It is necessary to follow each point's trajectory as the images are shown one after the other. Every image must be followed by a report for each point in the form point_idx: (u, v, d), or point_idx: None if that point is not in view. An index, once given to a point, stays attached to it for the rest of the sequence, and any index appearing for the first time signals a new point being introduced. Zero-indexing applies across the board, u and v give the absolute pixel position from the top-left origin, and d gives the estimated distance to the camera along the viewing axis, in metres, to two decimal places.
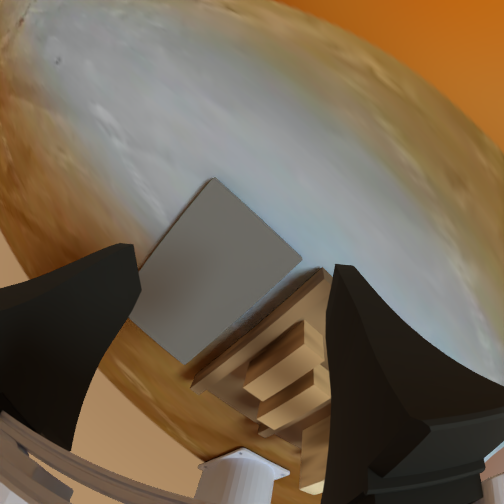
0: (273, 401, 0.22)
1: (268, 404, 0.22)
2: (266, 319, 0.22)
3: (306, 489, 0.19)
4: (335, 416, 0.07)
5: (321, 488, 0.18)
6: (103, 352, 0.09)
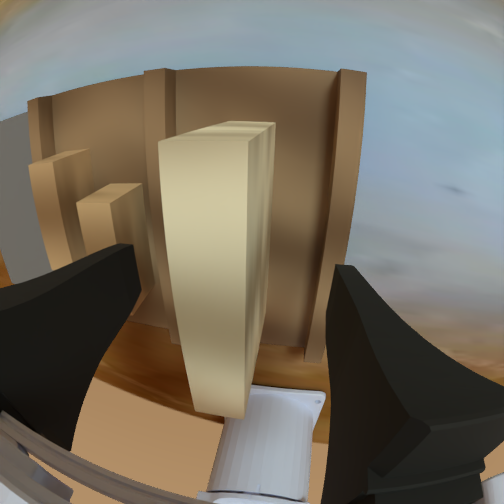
0: None
1: None
2: None
3: (205, 408, 0.11)
4: (335, 416, 0.07)
5: (223, 398, 0.10)
6: (103, 352, 0.09)
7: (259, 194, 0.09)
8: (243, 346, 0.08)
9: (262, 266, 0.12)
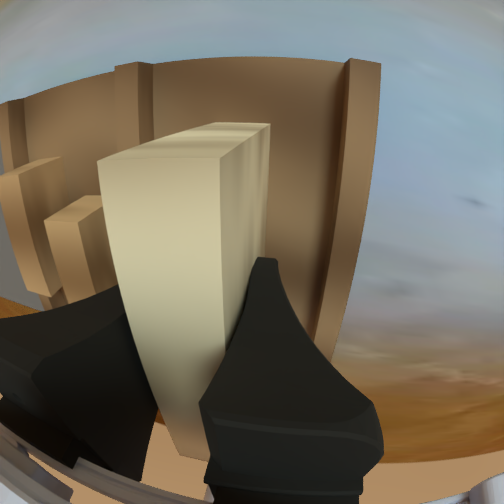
0: None
1: None
2: None
3: (190, 454, 0.09)
4: None
5: (208, 448, 0.08)
6: None
7: (245, 221, 0.07)
8: None
9: None
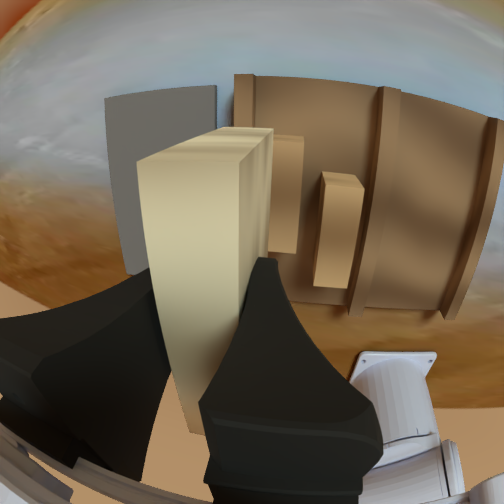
0: (316, 250, 0.17)
1: (315, 259, 0.17)
2: None
3: (200, 430, 0.10)
4: None
5: None
6: (170, 370, 0.08)
7: (254, 214, 0.08)
8: None
9: None
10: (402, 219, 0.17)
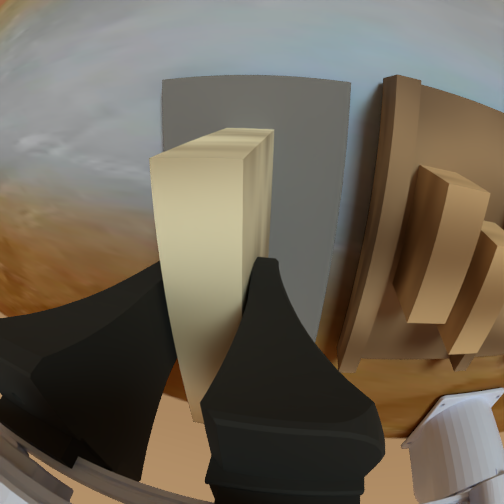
0: (456, 314, 0.12)
1: (451, 323, 0.12)
2: (373, 203, 0.12)
3: None
4: None
5: None
6: (170, 369, 0.08)
7: (256, 208, 0.08)
8: None
9: None
10: None
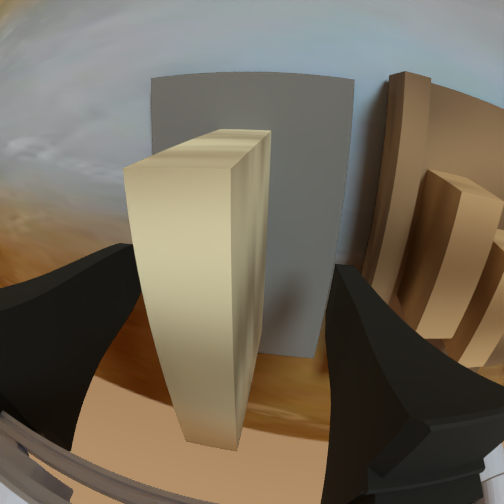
0: (463, 327, 0.11)
1: (458, 336, 0.11)
2: (377, 210, 0.12)
3: (196, 439, 0.09)
4: (335, 416, 0.07)
5: (213, 432, 0.09)
6: (103, 352, 0.09)
7: (249, 221, 0.07)
8: (232, 389, 0.07)
9: (256, 292, 0.11)
10: None
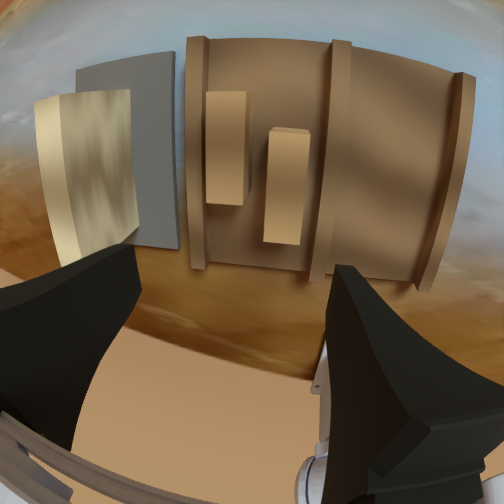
0: None
1: None
2: None
3: None
4: (335, 416, 0.07)
5: (71, 252, 0.15)
6: (103, 352, 0.09)
7: (86, 123, 0.13)
8: (69, 203, 0.13)
9: (109, 174, 0.16)
10: (363, 176, 0.17)
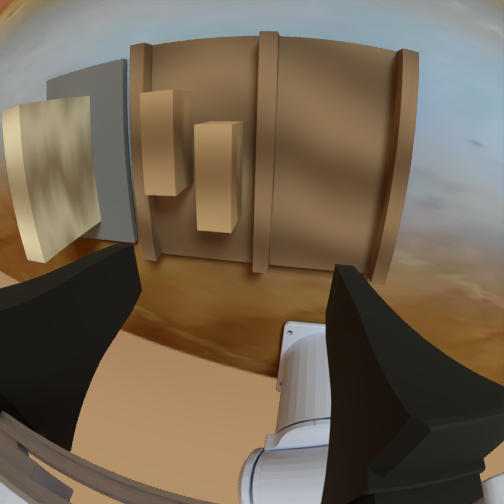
0: None
1: None
2: None
3: (30, 255, 0.16)
4: (335, 416, 0.07)
5: (32, 242, 0.15)
6: (103, 352, 0.09)
7: (45, 128, 0.14)
8: (28, 197, 0.14)
9: (68, 173, 0.17)
10: (301, 164, 0.17)
